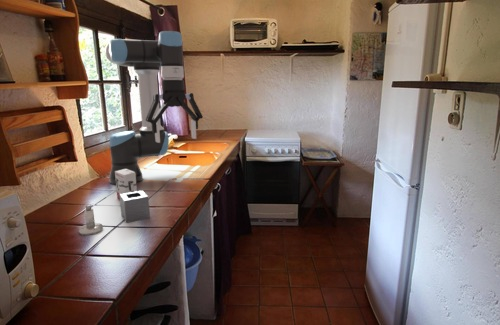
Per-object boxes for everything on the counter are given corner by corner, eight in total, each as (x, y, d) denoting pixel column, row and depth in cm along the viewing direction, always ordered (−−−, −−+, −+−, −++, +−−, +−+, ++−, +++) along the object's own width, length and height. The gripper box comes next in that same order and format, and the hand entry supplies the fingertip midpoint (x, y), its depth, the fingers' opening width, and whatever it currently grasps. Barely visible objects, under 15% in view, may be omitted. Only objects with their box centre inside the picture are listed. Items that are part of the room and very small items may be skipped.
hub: (78, 228, 111) (74, 204, 109) (101, 224, 115) (98, 200, 113) (80, 237, 106) (77, 211, 103) (104, 231, 109) (101, 207, 107)
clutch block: (121, 215, 122) (119, 194, 120) (144, 210, 126) (142, 190, 125) (126, 222, 116) (124, 200, 114) (149, 218, 120) (148, 196, 118)
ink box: (116, 198, 140) (113, 170, 137) (127, 195, 143) (125, 168, 140) (127, 203, 134) (124, 174, 131) (138, 200, 138) (135, 172, 135)
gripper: (139, 79, 107) (144, 145, 113) (210, 79, 121) (212, 138, 126) (133, 79, 114) (138, 142, 119) (201, 79, 127) (203, 135, 132)
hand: (176, 140), depth 122 cm, fingers open, 13 cm apart
